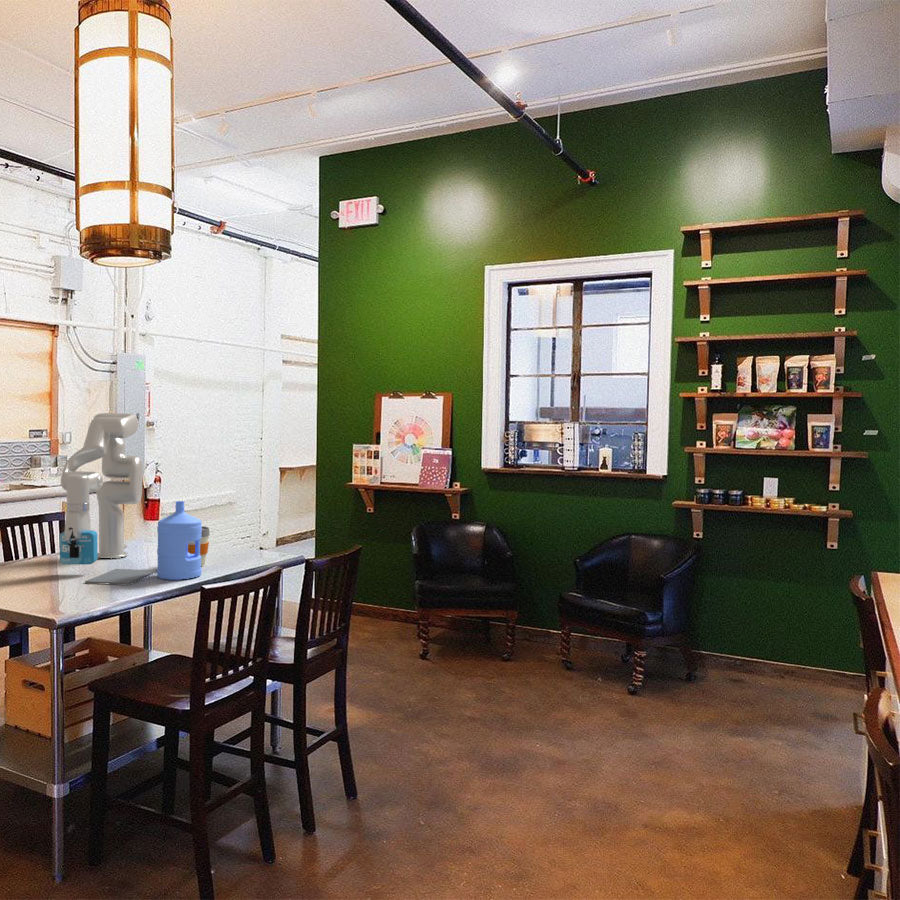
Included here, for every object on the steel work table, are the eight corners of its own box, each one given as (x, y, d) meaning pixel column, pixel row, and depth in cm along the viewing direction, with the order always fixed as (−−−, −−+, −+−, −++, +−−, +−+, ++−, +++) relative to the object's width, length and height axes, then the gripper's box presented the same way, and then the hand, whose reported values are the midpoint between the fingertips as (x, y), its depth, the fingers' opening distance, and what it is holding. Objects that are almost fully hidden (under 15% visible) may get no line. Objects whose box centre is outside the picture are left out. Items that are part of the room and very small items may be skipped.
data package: (59, 564, 282) (59, 532, 281) (64, 561, 286) (63, 530, 285) (93, 564, 283) (93, 532, 282) (97, 561, 288) (97, 530, 287)
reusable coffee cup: (203, 569, 299) (203, 531, 299) (171, 568, 300) (171, 530, 299) (213, 563, 312) (214, 526, 311) (183, 562, 312) (183, 525, 311)
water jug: (154, 581, 276) (155, 504, 275) (159, 572, 291) (159, 499, 290) (200, 580, 280) (201, 504, 279) (202, 571, 295) (202, 499, 294)
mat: (116, 570, 292) (116, 568, 292) (156, 572, 291) (156, 570, 291) (85, 583, 270) (84, 581, 270) (128, 585, 269) (128, 582, 269)
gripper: (81, 503, 292) (81, 550, 293) (55, 510, 275) (55, 560, 276) (100, 504, 291) (100, 551, 293) (75, 511, 274) (75, 561, 276)
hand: (78, 555), depth 285 cm, fingers closed on data package, 5 cm apart
